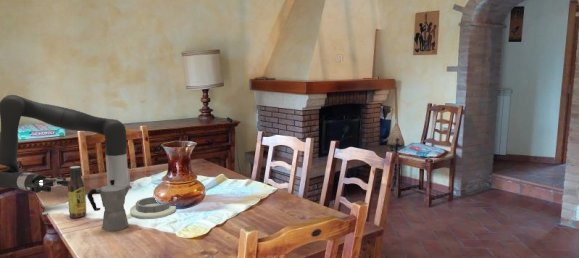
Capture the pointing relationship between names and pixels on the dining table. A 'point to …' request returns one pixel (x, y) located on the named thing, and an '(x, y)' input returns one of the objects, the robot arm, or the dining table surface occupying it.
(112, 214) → the coffeepot
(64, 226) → the dining table surface
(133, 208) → the ring tray
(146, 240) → the dining table surface
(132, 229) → the dining table surface
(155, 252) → the dining table surface
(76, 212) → the sauce bottle
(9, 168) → the robot arm
